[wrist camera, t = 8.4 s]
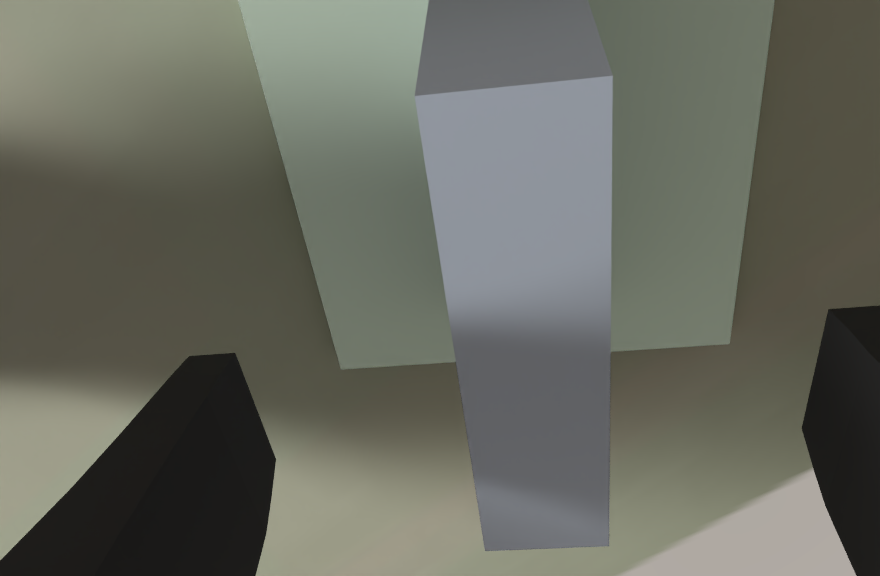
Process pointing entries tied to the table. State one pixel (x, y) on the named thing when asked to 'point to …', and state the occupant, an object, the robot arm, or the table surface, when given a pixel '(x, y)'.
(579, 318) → the grey rectangular box
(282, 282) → the table surface
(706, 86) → the mat
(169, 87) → the table surface
